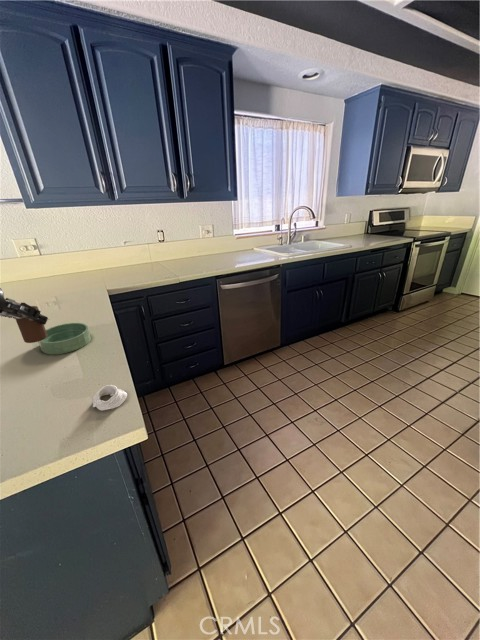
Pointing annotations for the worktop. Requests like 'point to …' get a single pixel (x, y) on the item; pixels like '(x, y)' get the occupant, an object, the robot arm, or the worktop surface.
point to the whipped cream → (113, 401)
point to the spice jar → (31, 329)
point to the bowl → (65, 338)
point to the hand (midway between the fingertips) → (36, 320)
